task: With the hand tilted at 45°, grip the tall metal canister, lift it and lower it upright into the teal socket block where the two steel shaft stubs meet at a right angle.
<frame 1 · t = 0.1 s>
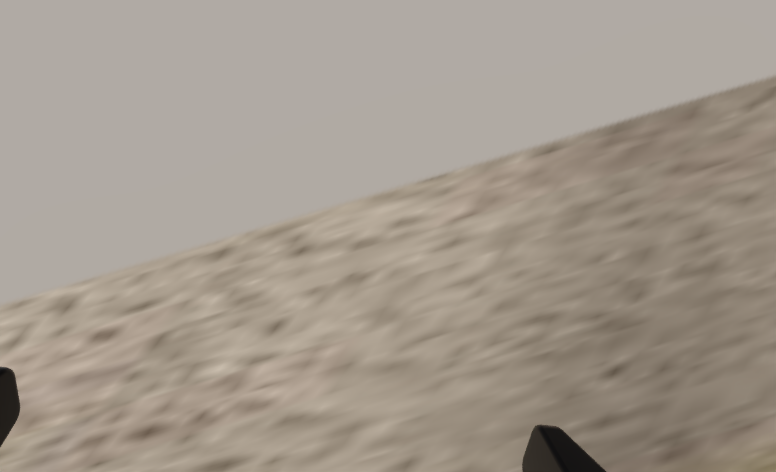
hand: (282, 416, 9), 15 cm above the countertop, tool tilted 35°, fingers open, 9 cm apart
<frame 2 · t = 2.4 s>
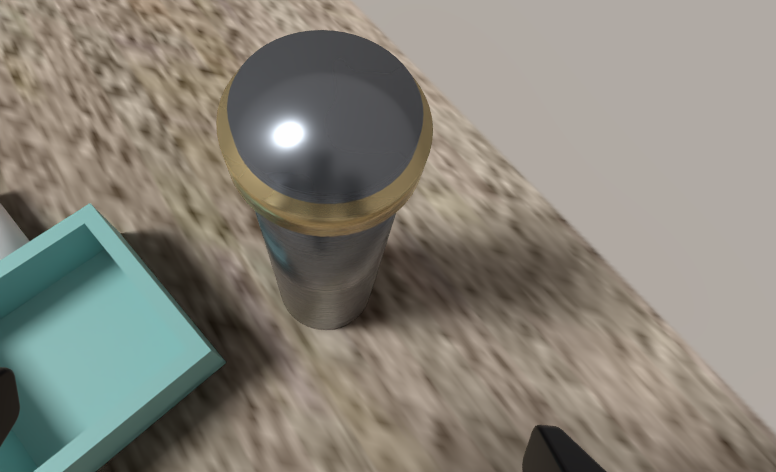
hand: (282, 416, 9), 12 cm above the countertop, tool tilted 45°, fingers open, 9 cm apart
coupling socket: (88, 356, 20), on the countertop
metal canister: (326, 284, 22), on the countertop
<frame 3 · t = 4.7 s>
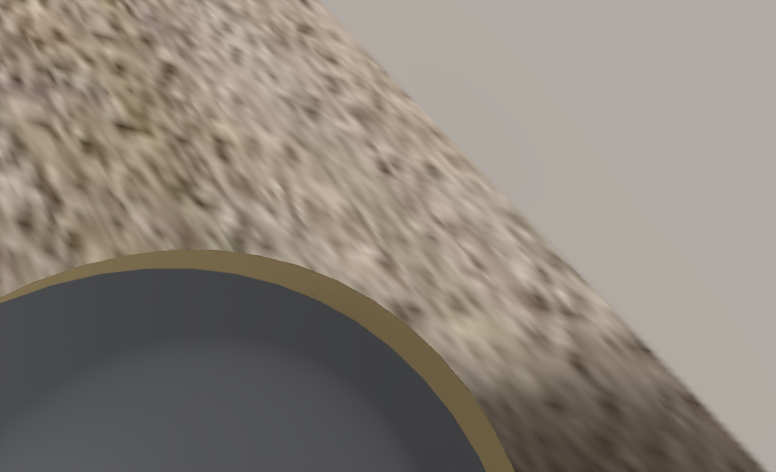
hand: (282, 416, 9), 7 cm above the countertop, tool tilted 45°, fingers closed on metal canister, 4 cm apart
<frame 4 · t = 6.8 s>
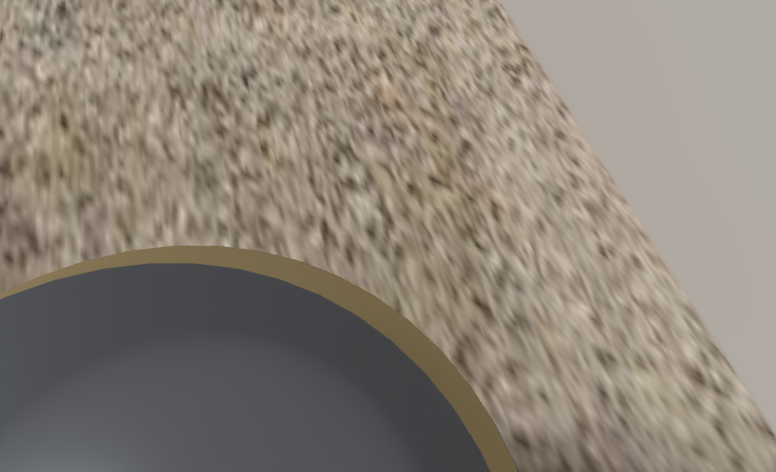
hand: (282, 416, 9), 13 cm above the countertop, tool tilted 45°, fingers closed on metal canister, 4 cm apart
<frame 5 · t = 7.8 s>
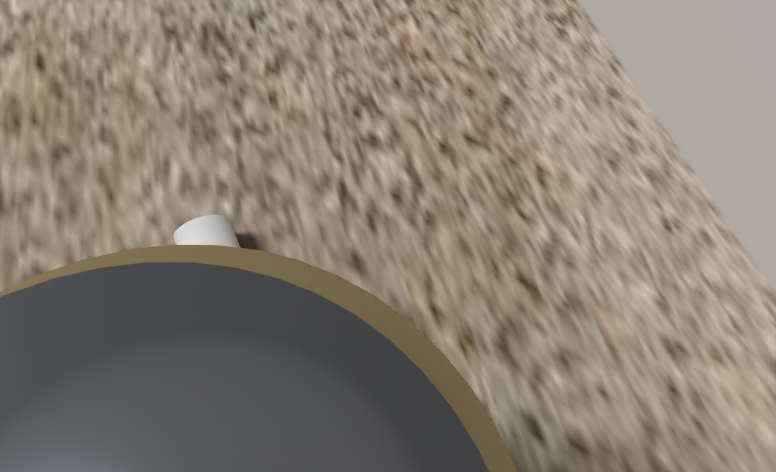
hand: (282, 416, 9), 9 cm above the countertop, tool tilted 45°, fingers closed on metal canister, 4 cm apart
coupling socket: (297, 463, 17), on the countertop
when the fingers open (8 cm above the countertop, at t = 8.8 s): metal canister stays where it is, resting on coupling socket.
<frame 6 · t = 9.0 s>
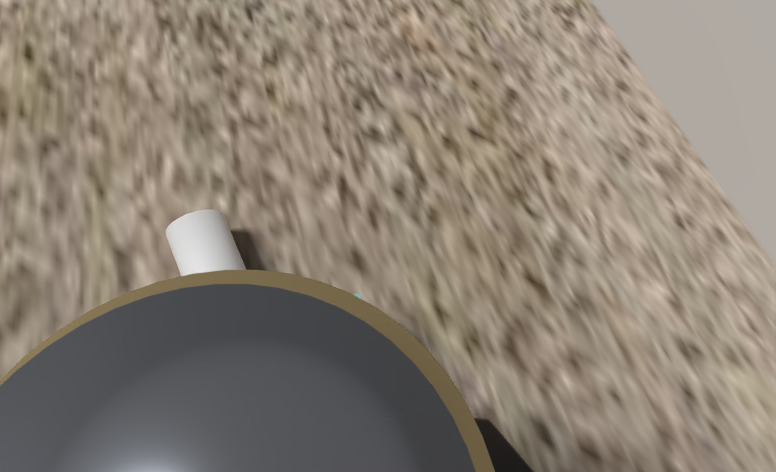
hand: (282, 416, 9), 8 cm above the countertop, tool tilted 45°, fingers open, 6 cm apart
coupling socket: (295, 471, 16), on the countertop
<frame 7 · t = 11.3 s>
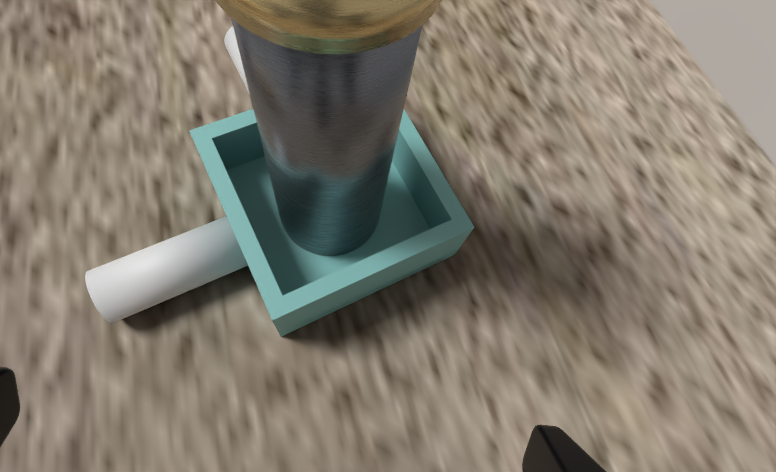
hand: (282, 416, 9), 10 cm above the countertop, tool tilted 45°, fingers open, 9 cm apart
coupling socket: (331, 212, 21), on the countertop
metal canister: (330, 208, 20), point 1 cm above the countertop, touching coupling socket
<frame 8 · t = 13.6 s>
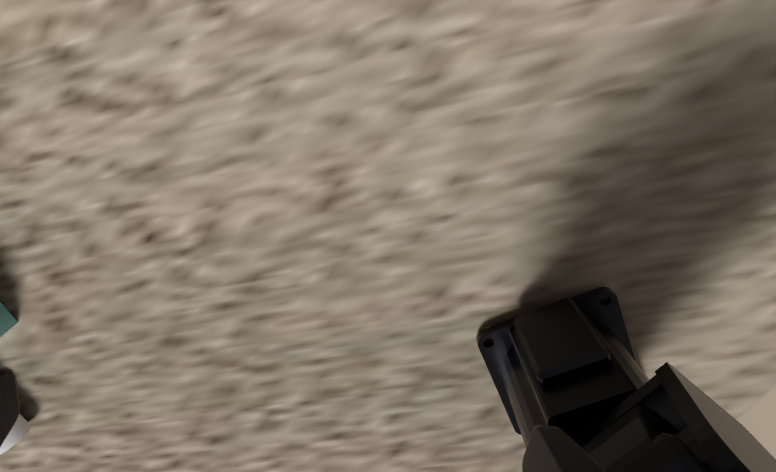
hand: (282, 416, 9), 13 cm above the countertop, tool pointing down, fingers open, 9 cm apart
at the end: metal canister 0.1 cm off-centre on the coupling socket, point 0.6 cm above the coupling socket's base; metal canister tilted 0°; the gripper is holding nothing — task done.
